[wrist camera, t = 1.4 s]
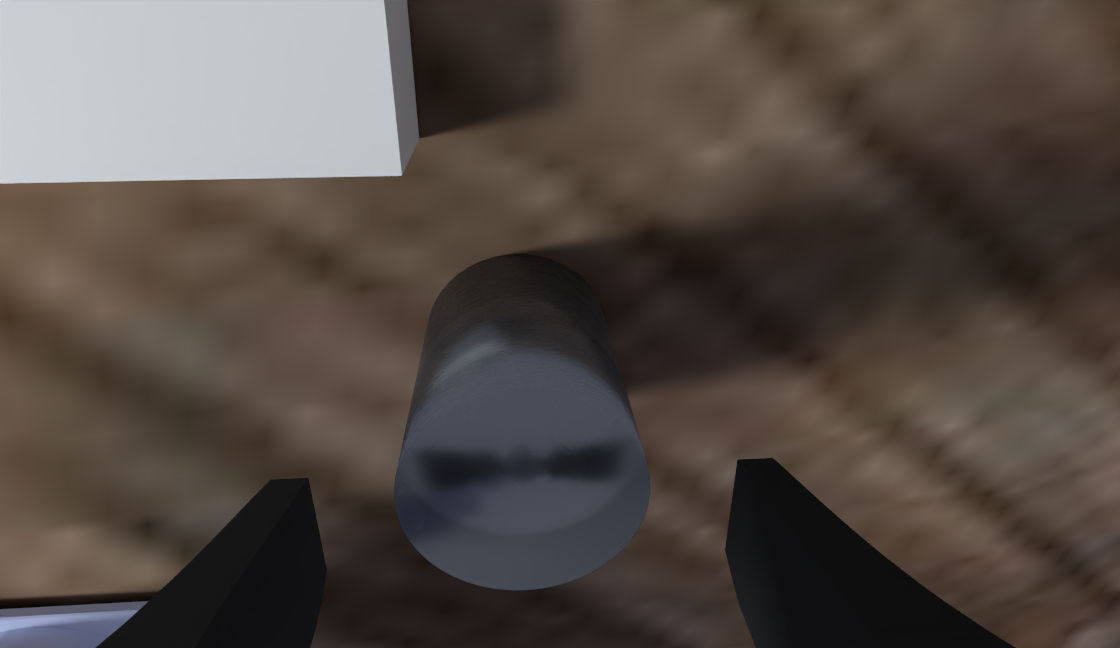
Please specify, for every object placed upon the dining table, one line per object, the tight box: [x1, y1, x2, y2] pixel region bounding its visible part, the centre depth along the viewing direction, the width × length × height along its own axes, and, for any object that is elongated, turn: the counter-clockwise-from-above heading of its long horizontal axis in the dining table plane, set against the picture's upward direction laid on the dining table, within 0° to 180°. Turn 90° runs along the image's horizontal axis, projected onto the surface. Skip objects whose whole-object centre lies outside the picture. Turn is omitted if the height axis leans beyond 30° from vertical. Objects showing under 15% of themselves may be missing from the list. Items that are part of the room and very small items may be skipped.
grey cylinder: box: [394, 254, 650, 590], centre depth 15 cm, size 4×4×6 cm
